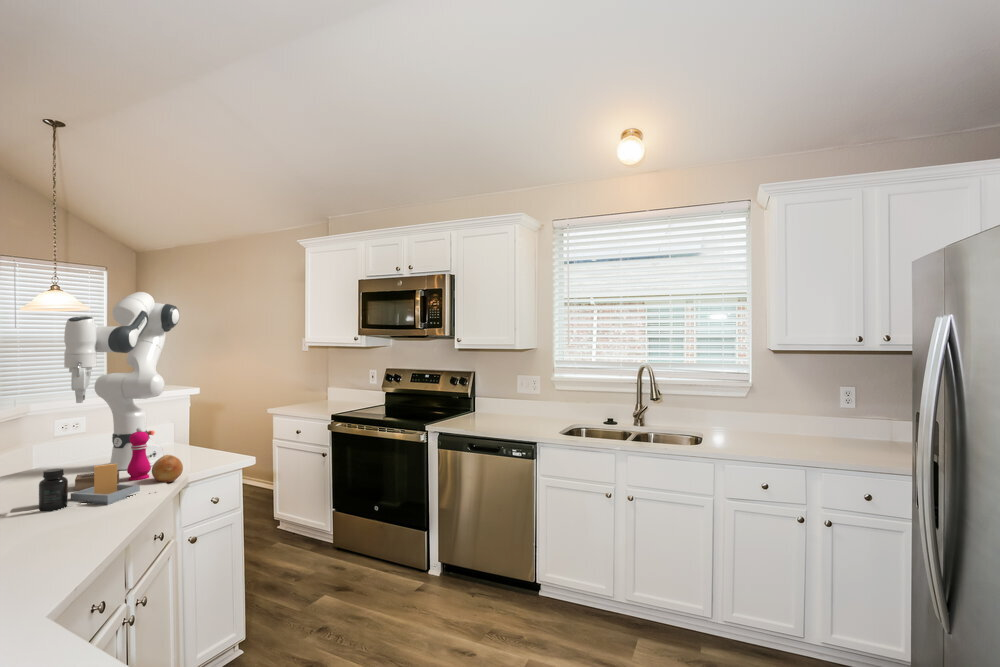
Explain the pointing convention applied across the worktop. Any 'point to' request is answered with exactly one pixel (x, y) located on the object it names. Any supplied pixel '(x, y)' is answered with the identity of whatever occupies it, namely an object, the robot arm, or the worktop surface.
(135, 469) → the pepper mill
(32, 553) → the worktop surface
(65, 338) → the robot arm
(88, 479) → the dispenser
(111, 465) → the orange tan rectangular panel
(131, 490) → the tray
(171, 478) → the onion
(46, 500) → the supplement bottle
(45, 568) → the worktop surface
